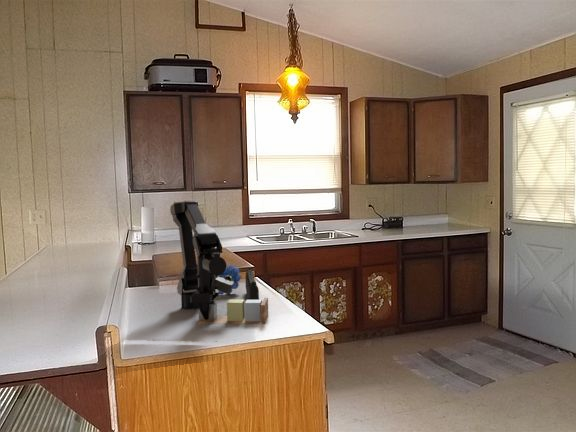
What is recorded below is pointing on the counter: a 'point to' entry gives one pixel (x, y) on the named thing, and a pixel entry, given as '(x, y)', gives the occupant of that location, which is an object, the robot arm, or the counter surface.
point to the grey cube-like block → (210, 313)
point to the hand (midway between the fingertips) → (208, 317)
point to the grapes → (233, 273)
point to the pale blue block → (253, 310)
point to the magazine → (251, 286)
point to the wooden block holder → (264, 315)
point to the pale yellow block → (235, 310)
